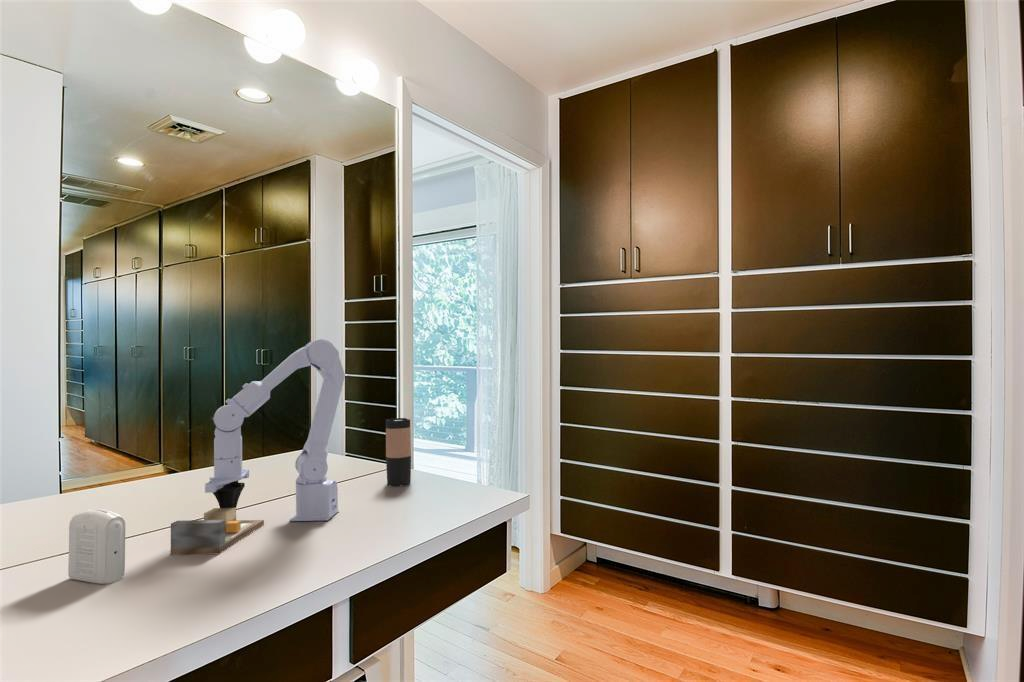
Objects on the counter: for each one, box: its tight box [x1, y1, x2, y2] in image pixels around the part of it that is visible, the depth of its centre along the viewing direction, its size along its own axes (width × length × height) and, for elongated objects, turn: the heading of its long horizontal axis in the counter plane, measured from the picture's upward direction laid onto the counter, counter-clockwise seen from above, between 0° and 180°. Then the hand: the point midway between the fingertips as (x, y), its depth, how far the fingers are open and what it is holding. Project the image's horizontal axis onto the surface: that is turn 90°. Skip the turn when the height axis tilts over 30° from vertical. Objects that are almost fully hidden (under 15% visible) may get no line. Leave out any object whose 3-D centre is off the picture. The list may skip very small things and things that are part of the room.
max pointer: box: [226, 521, 241, 533], centre depth 113 cm, size 2×2×2 cm, turn 89°
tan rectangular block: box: [203, 507, 237, 531], centre depth 115 cm, size 8×4×4 cm, turn 89°
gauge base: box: [170, 519, 265, 555], centre depth 113 cm, size 10×18×6 cm, turn 179°
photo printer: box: [67, 508, 126, 585], centre depth 93 cm, size 10×4×12 cm, turn 73°
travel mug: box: [385, 417, 412, 487], centre depth 161 cm, size 8×8×20 cm
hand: (228, 516), depth 119 cm, fingers closed
